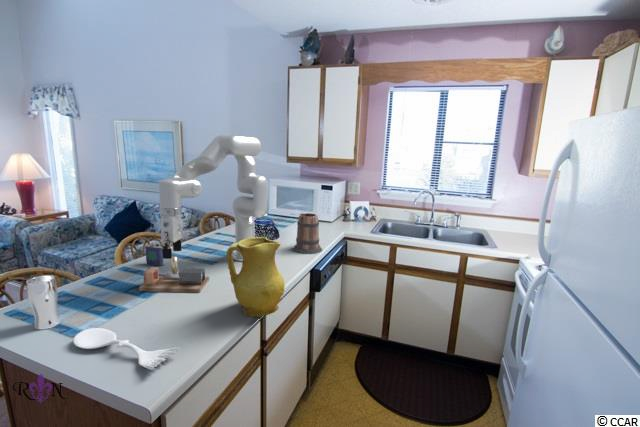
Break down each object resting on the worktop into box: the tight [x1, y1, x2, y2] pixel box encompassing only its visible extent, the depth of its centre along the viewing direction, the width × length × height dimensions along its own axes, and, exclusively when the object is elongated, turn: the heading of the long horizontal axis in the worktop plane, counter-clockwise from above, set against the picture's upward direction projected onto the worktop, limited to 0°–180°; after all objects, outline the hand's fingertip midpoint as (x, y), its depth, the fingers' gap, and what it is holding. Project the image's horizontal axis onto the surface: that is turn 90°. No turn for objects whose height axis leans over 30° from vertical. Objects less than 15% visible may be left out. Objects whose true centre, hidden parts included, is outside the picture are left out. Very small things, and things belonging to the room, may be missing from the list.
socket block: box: [143, 267, 160, 284], centre depth 130 cm, size 4×5×5 cm
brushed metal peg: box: [162, 255, 203, 280], centre depth 130 cm, size 15×3×10 cm, turn 92°
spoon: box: [72, 327, 180, 371], centre depth 89 cm, size 9×32×4 cm, turn 69°
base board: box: [138, 275, 210, 293], centre depth 132 cm, size 23×12×2 cm, turn 92°
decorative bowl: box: [254, 213, 280, 241], centre depth 205 cm, size 20×20×14 cm
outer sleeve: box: [178, 267, 206, 285], centre depth 131 cm, size 8×5×5 cm, turn 92°
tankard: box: [292, 212, 323, 255], centre depth 185 cm, size 24×17×20 cm
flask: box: [145, 242, 165, 267], centre depth 152 cm, size 9×3×11 cm, turn 74°
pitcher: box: [226, 236, 285, 318], centre depth 114 cm, size 17×19×25 cm
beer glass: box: [25, 274, 61, 331], centre depth 100 cm, size 7×7×15 cm
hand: (172, 254), depth 129 cm, fingers open, 9 cm apart
